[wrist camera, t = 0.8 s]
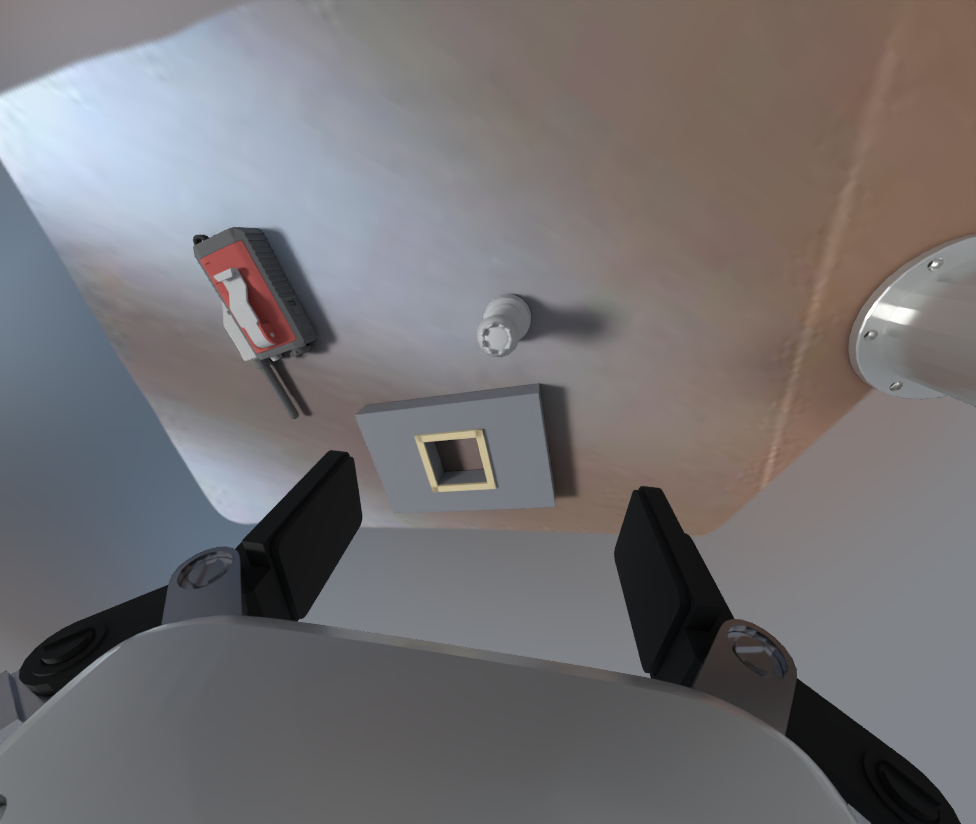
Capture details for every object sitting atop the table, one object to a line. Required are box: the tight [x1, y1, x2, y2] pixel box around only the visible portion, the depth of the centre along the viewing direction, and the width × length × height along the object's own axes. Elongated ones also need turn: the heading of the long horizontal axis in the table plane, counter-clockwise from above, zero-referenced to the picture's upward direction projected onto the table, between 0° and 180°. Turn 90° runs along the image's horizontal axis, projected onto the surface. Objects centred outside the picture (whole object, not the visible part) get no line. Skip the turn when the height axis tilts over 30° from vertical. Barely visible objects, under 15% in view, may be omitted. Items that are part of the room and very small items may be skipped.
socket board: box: [355, 384, 555, 513], centre depth 39 cm, size 20×14×3 cm
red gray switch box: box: [193, 227, 317, 419], centre depth 35 cm, size 9×4×20 cm
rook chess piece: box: [477, 294, 531, 357], centre depth 29 cm, size 4×4×8 cm
